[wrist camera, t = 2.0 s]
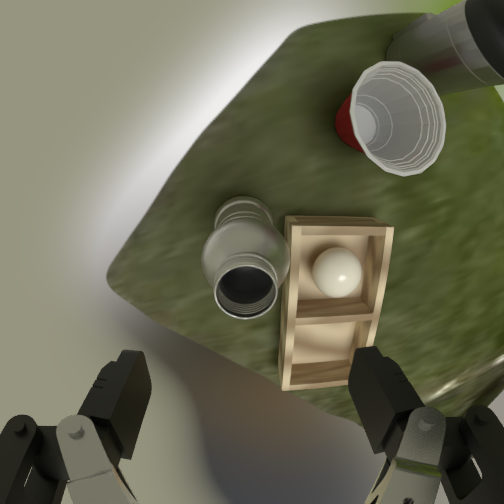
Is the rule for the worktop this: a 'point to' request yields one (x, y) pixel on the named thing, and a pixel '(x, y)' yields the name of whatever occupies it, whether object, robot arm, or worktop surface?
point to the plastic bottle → (245, 258)
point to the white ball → (337, 272)
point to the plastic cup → (394, 118)
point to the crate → (329, 299)
